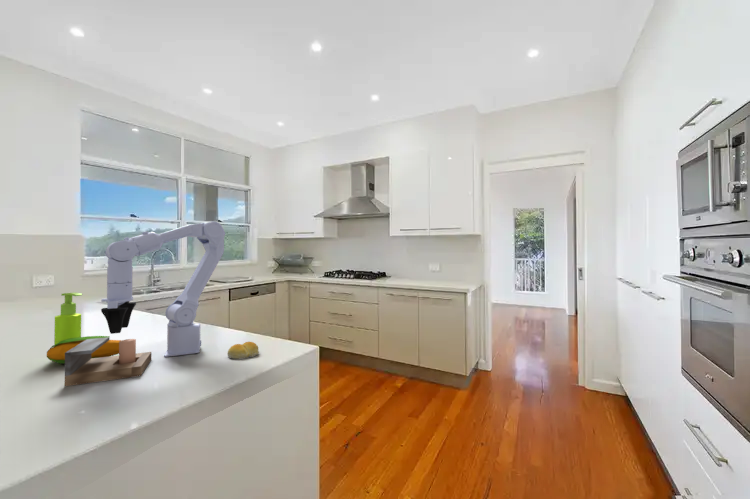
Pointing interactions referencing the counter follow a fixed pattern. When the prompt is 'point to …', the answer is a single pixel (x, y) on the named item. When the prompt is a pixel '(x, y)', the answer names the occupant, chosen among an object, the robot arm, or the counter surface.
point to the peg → (127, 351)
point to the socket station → (99, 364)
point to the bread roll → (243, 350)
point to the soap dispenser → (67, 320)
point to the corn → (61, 348)
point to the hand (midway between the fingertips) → (119, 330)
